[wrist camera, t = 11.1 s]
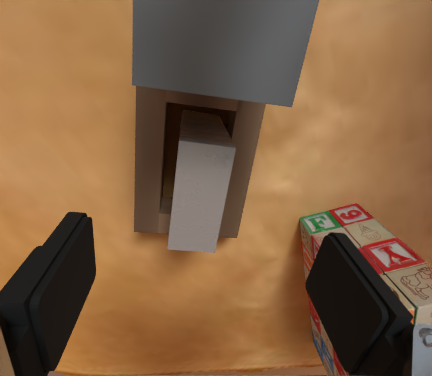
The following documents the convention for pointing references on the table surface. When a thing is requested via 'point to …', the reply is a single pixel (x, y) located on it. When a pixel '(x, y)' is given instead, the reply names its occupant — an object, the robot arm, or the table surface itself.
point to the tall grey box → (200, 182)
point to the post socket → (211, 84)
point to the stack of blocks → (379, 259)
